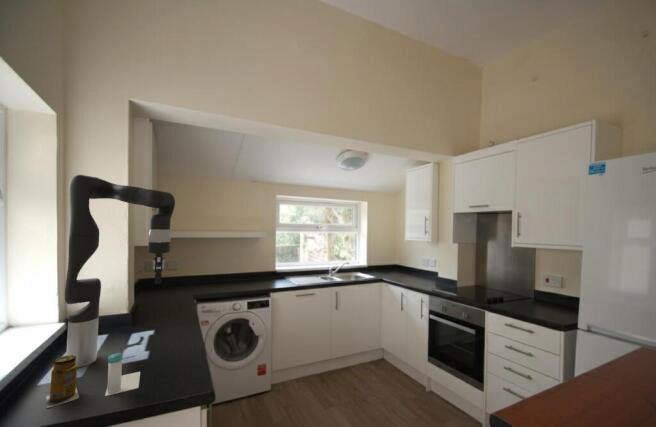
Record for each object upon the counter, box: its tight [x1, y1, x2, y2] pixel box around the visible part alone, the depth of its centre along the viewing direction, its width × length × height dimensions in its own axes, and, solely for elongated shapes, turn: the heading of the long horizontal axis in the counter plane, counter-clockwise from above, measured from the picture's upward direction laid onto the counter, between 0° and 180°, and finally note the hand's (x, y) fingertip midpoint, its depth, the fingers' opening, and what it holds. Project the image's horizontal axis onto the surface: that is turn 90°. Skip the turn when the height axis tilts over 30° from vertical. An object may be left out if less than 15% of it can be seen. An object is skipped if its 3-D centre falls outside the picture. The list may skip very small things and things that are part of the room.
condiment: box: [45, 355, 80, 409], centre depth 88 cm, size 7×8×12 cm
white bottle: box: [106, 352, 124, 395], centre depth 92 cm, size 4×4×12 cm
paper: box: [104, 371, 141, 397], centre depth 96 cm, size 12×9×1 cm
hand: (157, 281), depth 109 cm, fingers open, 8 cm apart
